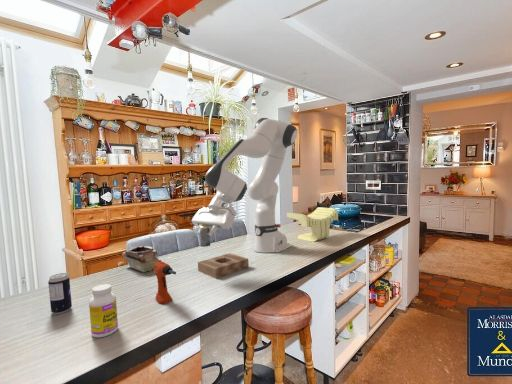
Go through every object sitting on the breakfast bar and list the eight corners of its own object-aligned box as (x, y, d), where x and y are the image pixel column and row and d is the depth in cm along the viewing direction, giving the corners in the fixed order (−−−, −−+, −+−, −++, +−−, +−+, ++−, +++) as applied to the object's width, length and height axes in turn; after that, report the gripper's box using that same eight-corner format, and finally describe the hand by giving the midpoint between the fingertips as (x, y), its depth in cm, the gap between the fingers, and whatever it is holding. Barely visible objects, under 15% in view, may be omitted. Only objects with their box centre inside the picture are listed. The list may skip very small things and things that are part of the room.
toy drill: (172, 313, 85) (166, 265, 85) (153, 300, 99) (149, 260, 100) (186, 308, 88) (181, 262, 88) (166, 296, 102) (162, 257, 102)
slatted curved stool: (307, 245, 161) (306, 214, 160) (288, 240, 174) (286, 212, 173) (338, 236, 180) (337, 208, 179) (318, 232, 193) (318, 207, 191)
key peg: (207, 243, 119) (206, 225, 119) (212, 245, 116) (211, 226, 116) (198, 245, 117) (197, 226, 116) (203, 247, 114) (202, 227, 113)
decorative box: (131, 277, 121) (130, 255, 121) (115, 268, 135) (114, 248, 135) (160, 269, 131) (159, 249, 130) (142, 261, 145) (141, 242, 144)
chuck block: (230, 261, 138) (229, 253, 138) (248, 267, 128) (248, 258, 127) (198, 270, 126) (197, 262, 126) (215, 278, 116) (215, 269, 115)
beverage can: (74, 310, 93) (71, 274, 92) (53, 317, 89) (50, 280, 88) (69, 305, 97) (66, 271, 96) (49, 311, 92) (45, 276, 92)
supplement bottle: (103, 340, 74) (99, 293, 74) (85, 336, 77) (82, 290, 76) (123, 327, 81) (120, 284, 80) (106, 323, 83) (103, 281, 82)
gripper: (197, 203, 127) (182, 228, 119) (232, 204, 116) (218, 232, 108) (205, 211, 131) (190, 236, 123) (239, 213, 120) (226, 241, 112)
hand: (204, 234), depth 116 cm, fingers closed on key peg, 4 cm apart
